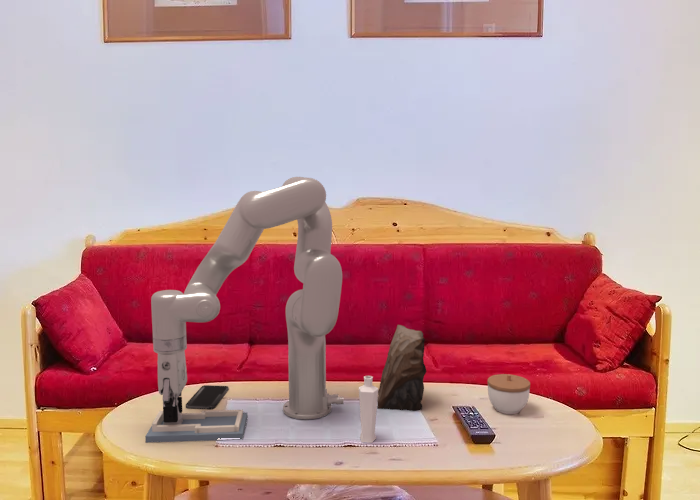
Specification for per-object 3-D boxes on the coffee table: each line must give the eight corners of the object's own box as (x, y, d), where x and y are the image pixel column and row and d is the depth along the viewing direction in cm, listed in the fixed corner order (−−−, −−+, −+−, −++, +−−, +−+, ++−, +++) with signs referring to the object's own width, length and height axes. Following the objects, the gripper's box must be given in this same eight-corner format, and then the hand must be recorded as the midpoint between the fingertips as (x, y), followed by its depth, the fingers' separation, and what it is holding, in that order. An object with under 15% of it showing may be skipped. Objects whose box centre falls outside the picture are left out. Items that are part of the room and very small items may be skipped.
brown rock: (390, 391, 170) (391, 322, 167) (434, 398, 165) (435, 327, 162) (374, 408, 158) (375, 334, 156) (421, 416, 154) (423, 339, 151)
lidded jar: (526, 420, 151) (528, 384, 150) (483, 414, 155) (484, 378, 154) (531, 405, 161) (532, 371, 159) (490, 399, 165) (491, 365, 163)
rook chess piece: (186, 423, 145) (185, 391, 144) (169, 429, 142) (168, 397, 141) (176, 418, 148) (175, 387, 147) (159, 424, 145) (158, 392, 144)
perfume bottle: (364, 445, 137) (364, 382, 135) (355, 438, 141) (355, 376, 139) (381, 441, 139) (382, 378, 137) (372, 434, 143) (372, 373, 141)
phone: (184, 405, 158) (202, 385, 173) (184, 410, 158) (203, 388, 173) (213, 407, 157) (229, 385, 172) (213, 411, 157) (230, 389, 172)
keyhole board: (247, 418, 152) (247, 404, 152) (242, 439, 140) (242, 425, 140) (158, 420, 151) (157, 407, 150) (145, 442, 139) (144, 428, 138)
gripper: (178, 354, 134) (182, 432, 137) (192, 333, 151) (195, 403, 153) (144, 354, 133) (148, 433, 136) (162, 333, 150) (165, 404, 153)
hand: (173, 416), depth 145 cm, fingers closed on rook chess piece, 4 cm apart
